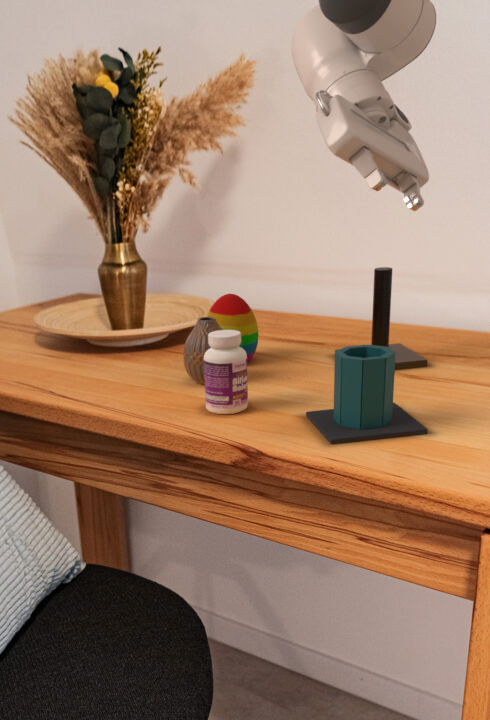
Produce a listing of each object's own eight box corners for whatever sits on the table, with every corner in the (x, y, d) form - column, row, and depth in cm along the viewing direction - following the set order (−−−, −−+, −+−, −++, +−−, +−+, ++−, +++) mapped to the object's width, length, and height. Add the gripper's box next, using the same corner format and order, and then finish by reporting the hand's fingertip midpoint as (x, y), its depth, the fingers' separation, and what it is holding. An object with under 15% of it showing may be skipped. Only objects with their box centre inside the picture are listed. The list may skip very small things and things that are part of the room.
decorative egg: (193, 365, 126) (190, 297, 122) (223, 352, 132) (221, 287, 128) (240, 371, 121) (238, 301, 117) (268, 357, 127) (268, 290, 123)
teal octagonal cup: (379, 409, 100) (382, 342, 97) (398, 425, 95) (402, 356, 91) (328, 414, 100) (329, 348, 96) (344, 431, 94) (346, 361, 91)
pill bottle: (242, 416, 103) (240, 338, 99) (201, 414, 105) (197, 338, 101) (252, 402, 108) (250, 327, 104) (212, 401, 109) (209, 327, 105)
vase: (226, 388, 114) (223, 324, 110) (178, 387, 116) (174, 324, 113) (239, 374, 120) (237, 312, 116) (193, 373, 122) (190, 312, 118)
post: (399, 349, 126) (404, 260, 120) (427, 366, 117) (433, 270, 111) (334, 356, 125) (336, 266, 119) (357, 374, 116) (360, 277, 110)
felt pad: (394, 407, 102) (394, 402, 102) (427, 434, 93) (428, 428, 93) (305, 416, 101) (305, 411, 101) (331, 444, 92) (331, 439, 92)
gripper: (331, 66, 101) (376, 153, 97) (414, 122, 115) (456, 201, 111) (292, 105, 105) (333, 191, 101) (377, 155, 119) (416, 232, 115)
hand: (398, 197), depth 106 cm, fingers open, 8 cm apart
